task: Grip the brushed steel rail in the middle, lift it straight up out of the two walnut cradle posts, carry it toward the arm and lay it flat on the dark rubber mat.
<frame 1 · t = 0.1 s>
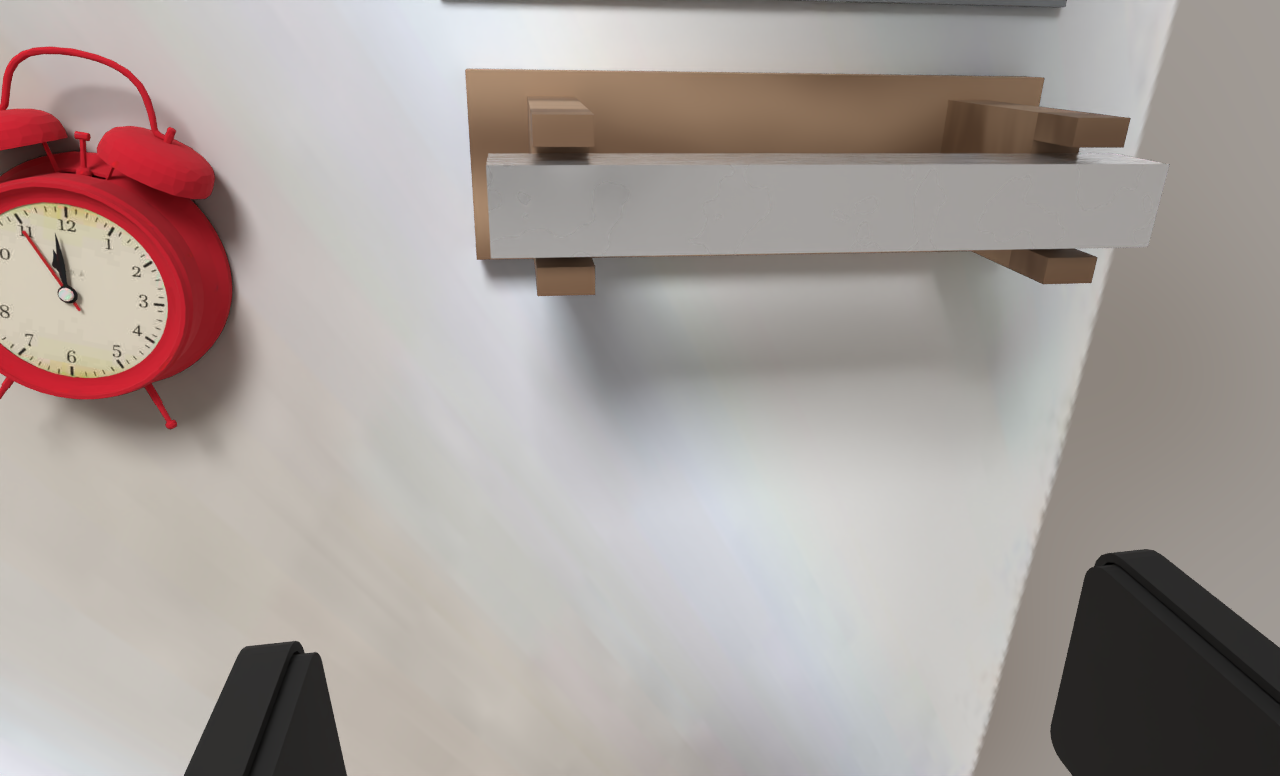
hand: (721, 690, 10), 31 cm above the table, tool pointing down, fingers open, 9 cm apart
walnut rail stand: (753, 163, 39), on the table
steel rail: (813, 194, 31), point 8 cm above the table, touching walnut rail stand
alarm clock: (110, 233, 36), on the table
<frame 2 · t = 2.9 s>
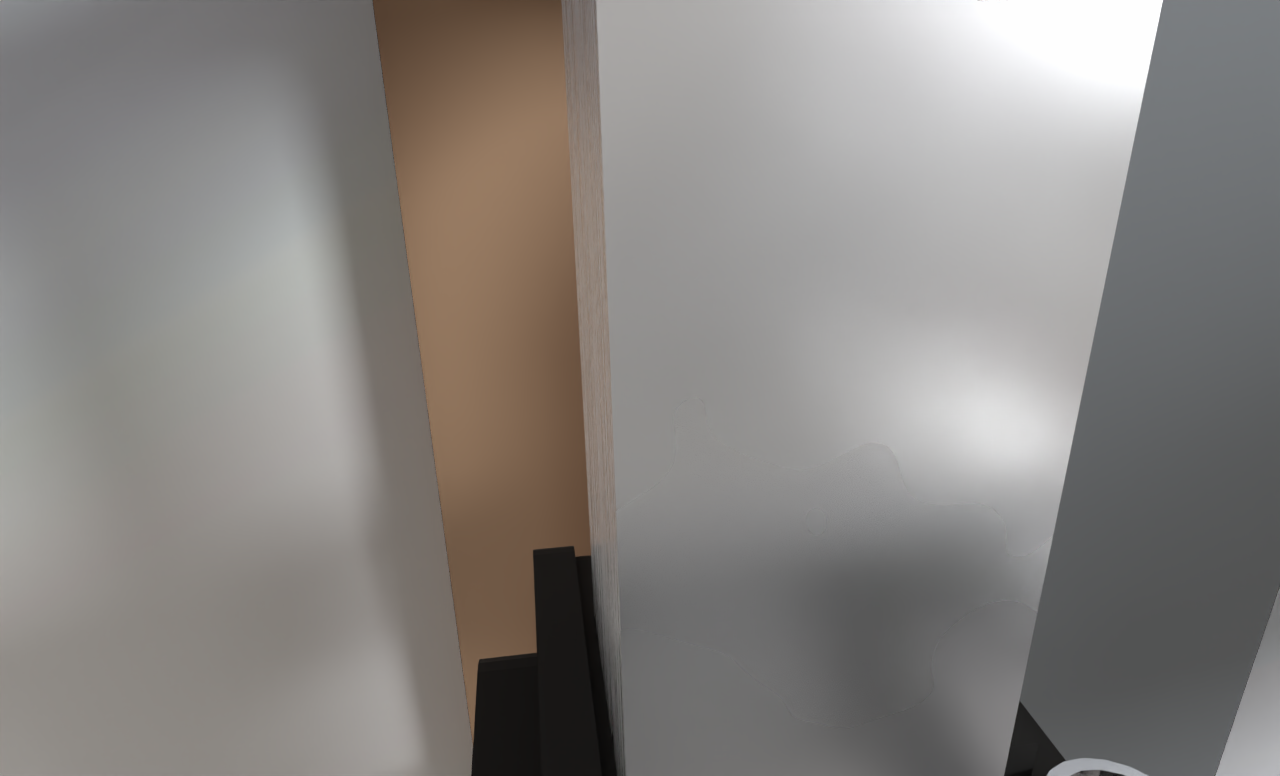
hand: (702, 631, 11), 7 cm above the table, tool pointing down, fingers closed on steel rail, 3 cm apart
walnut rail stand: (631, 410, 18), on the table
rubber mat: (1144, 370, 19), on the table
steel rail: (725, 701, 10), point 9 cm above the table, touching gripper, walnut rail stand
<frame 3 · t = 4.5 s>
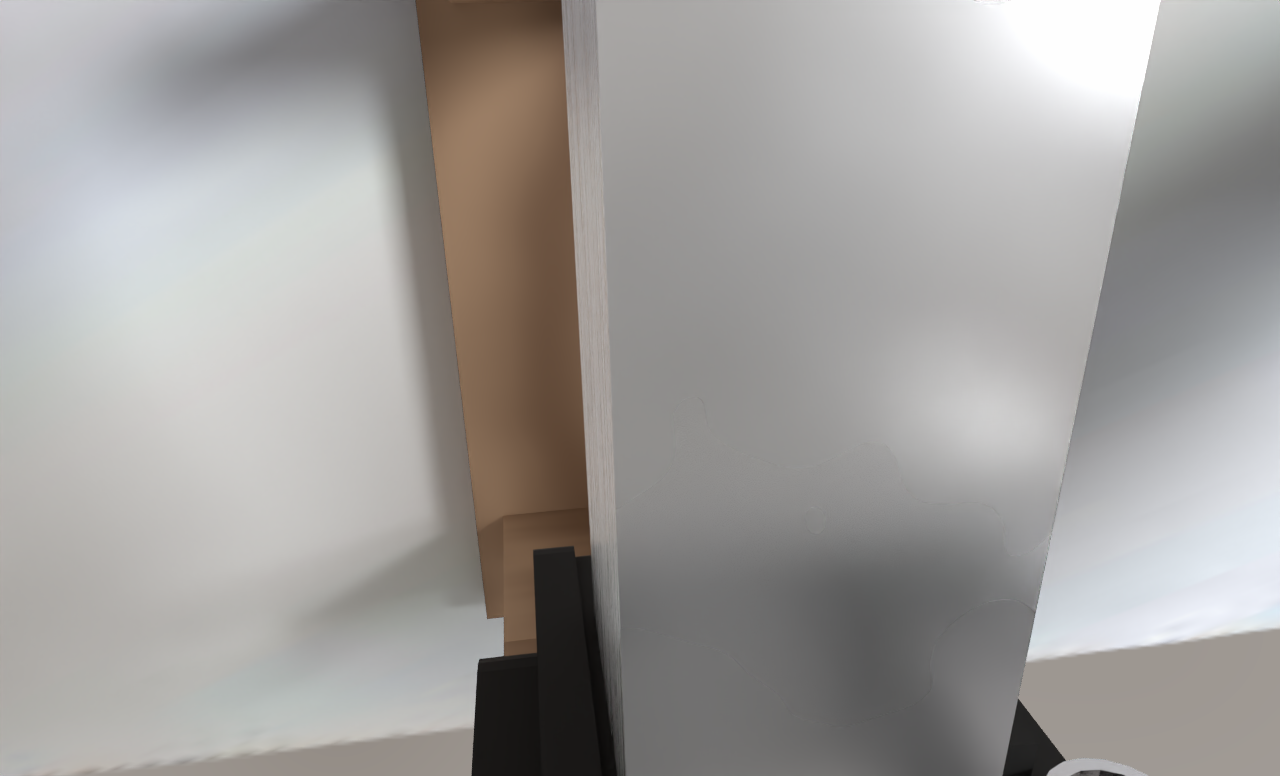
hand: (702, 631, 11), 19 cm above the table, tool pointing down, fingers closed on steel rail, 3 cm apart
walnut rail stand: (569, 273, 29), on the table
steel rail: (724, 700, 10), point 21 cm above the table, touching gripper
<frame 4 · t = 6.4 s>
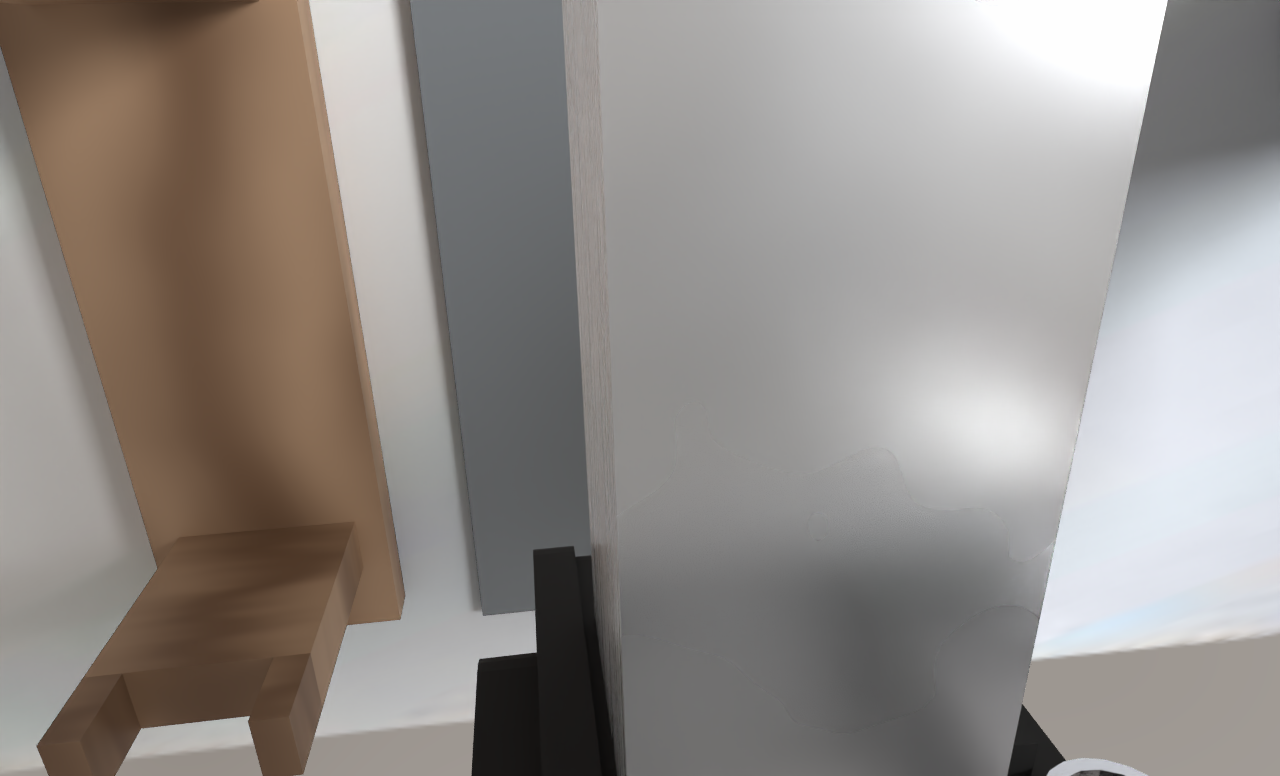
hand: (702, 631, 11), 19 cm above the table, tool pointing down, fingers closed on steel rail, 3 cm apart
walnut rail stand: (229, 286, 27), on the table
rubber mat: (589, 266, 29), on the table
steel rail: (725, 704, 10), point 21 cm above the table, touching gripper
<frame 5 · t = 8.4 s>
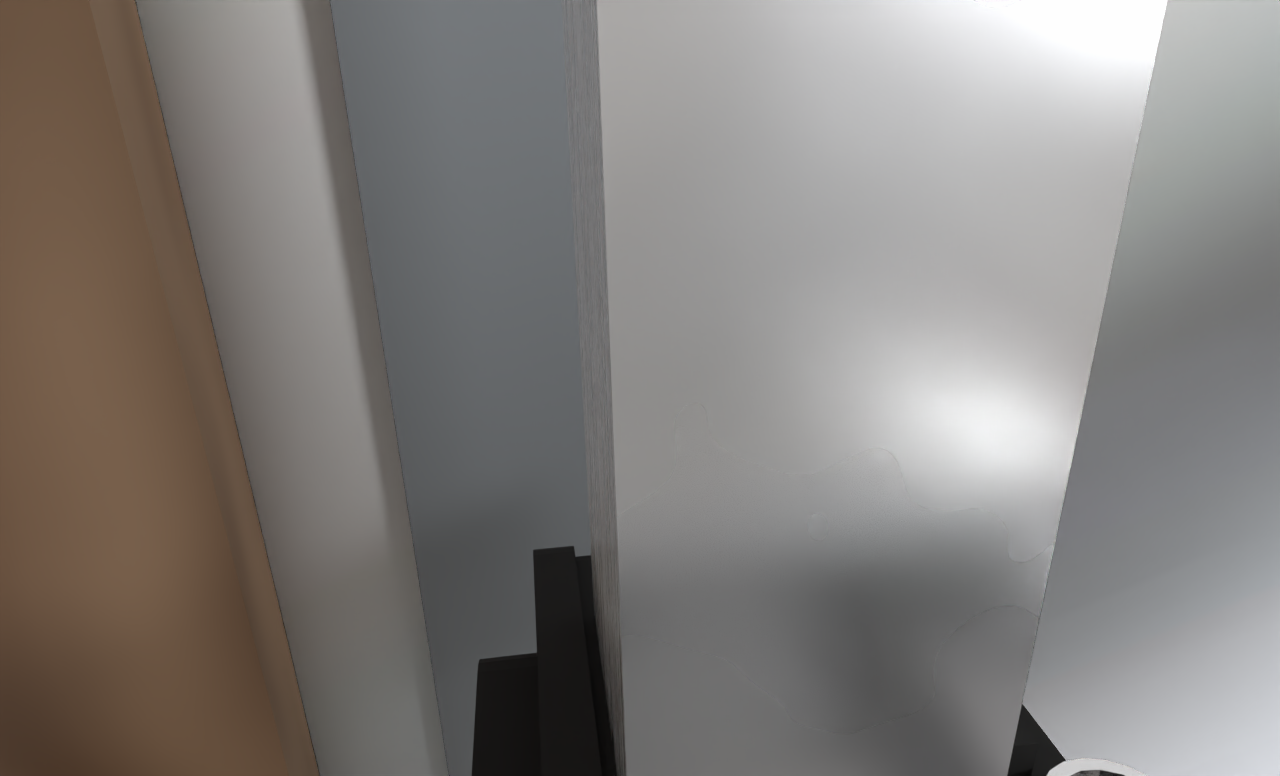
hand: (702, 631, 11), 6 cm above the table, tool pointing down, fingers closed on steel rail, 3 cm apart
walnut rail stand: (19, 472, 15), on the table
rubber mat: (655, 424, 17), on the table
steel rail: (725, 705, 10), point 8 cm above the table, touching gripper
when the fingers open (1 cm above the table, at t = 9.8 s): steel rail drops 2 cm, resting on rubber mat.
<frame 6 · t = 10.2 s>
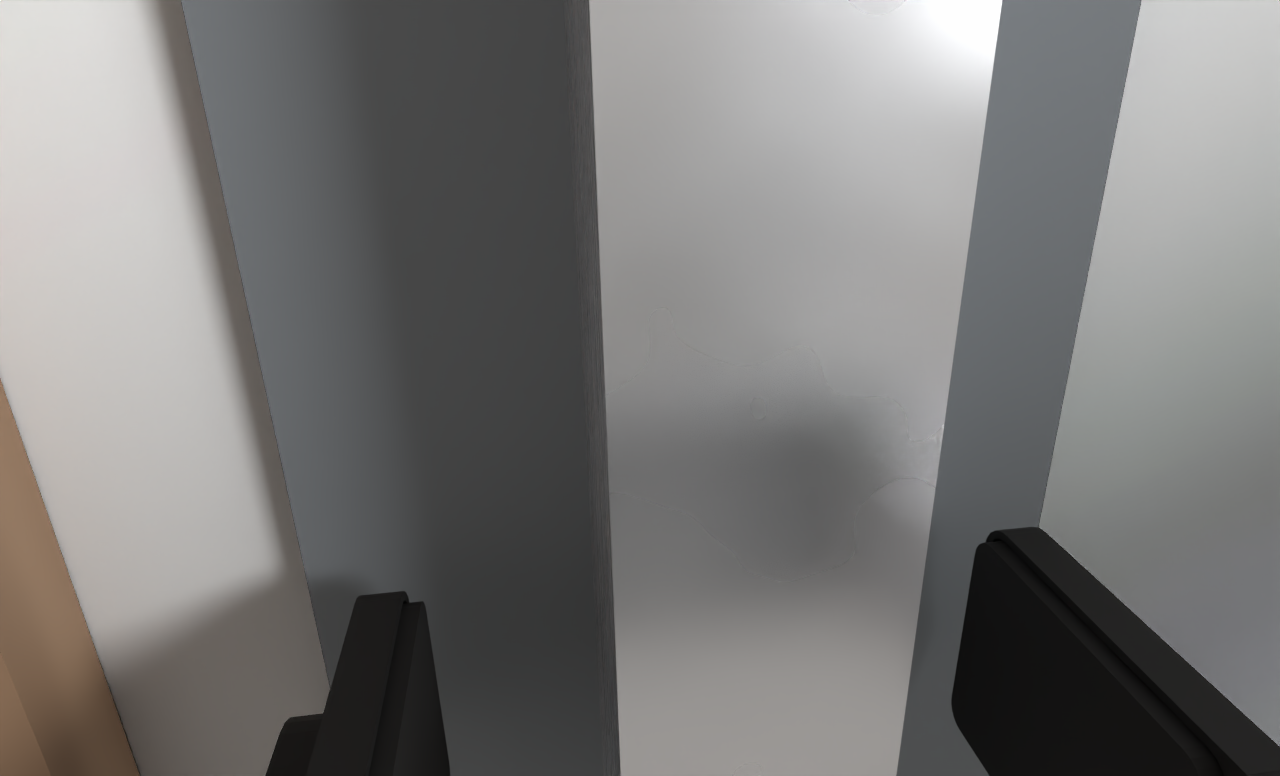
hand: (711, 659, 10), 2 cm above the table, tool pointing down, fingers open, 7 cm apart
rubber mat: (687, 585, 12), on the table
steel rail: (702, 607, 11), resting on rubber mat
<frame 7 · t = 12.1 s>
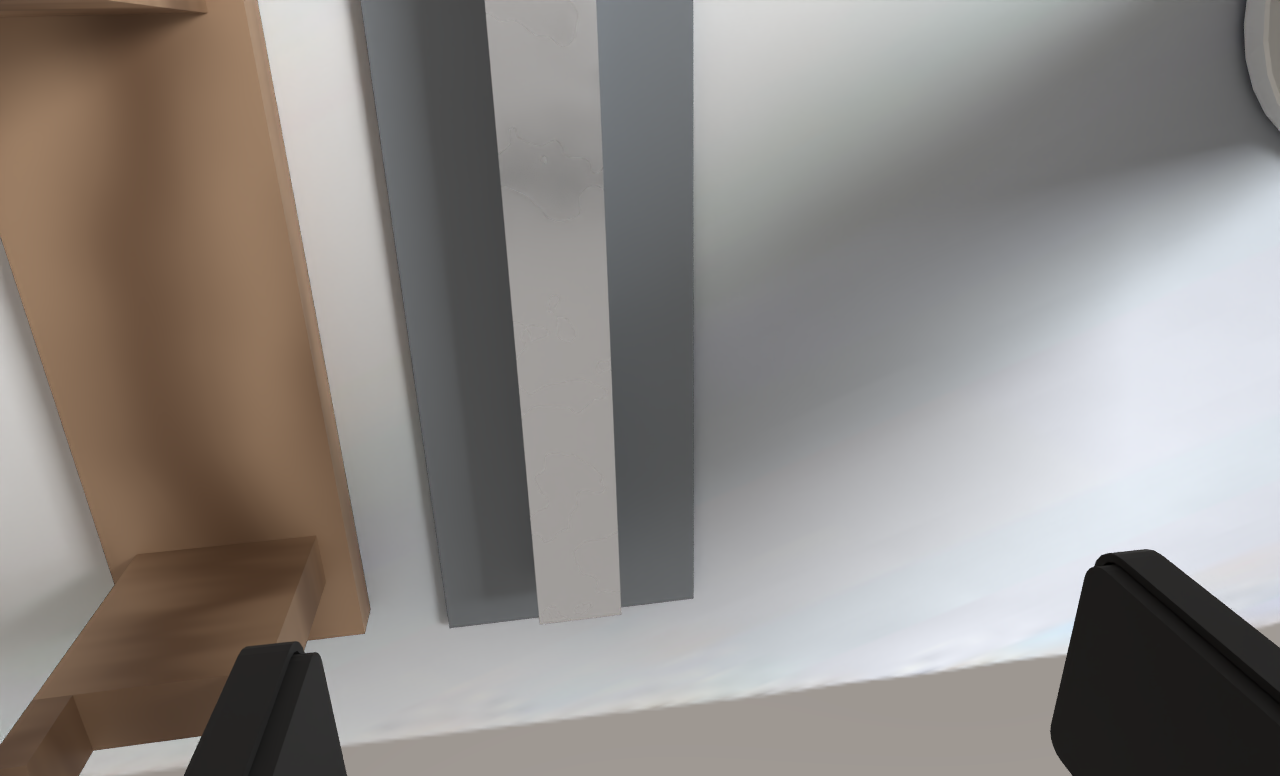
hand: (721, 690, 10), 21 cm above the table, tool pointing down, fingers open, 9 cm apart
walnut rail stand: (185, 300, 27), on the table
rubber mat: (550, 276, 29), on the table
steel rail: (554, 280, 28), resting on rubber mat
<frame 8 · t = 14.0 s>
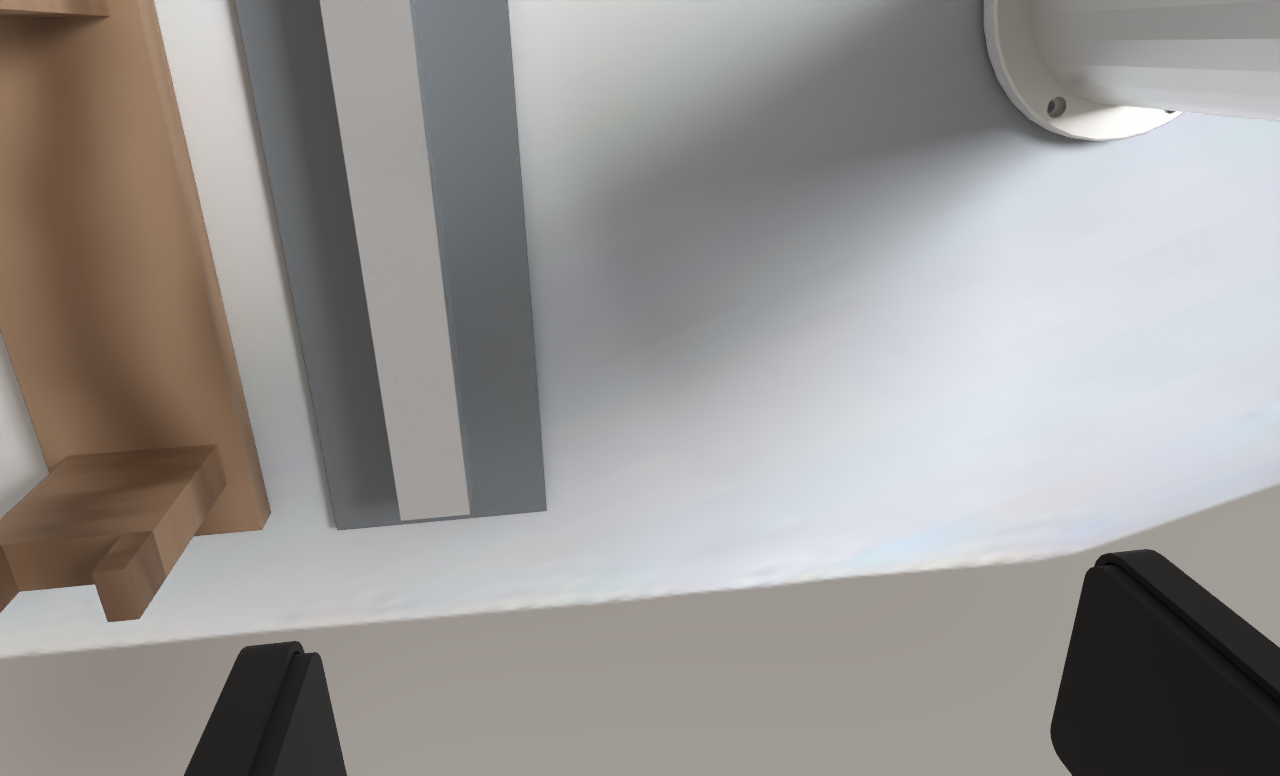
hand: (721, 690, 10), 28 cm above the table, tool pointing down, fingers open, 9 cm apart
walnut rail stand: (105, 247, 33), on the table
rubber mat: (406, 232, 35), on the table
steel rail: (408, 234, 34), resting on rubber mat
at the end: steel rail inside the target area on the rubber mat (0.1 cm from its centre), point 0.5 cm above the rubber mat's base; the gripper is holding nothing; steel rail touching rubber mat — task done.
